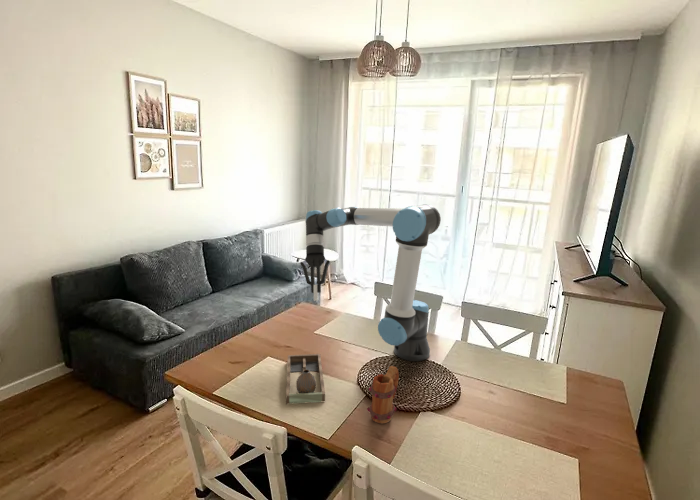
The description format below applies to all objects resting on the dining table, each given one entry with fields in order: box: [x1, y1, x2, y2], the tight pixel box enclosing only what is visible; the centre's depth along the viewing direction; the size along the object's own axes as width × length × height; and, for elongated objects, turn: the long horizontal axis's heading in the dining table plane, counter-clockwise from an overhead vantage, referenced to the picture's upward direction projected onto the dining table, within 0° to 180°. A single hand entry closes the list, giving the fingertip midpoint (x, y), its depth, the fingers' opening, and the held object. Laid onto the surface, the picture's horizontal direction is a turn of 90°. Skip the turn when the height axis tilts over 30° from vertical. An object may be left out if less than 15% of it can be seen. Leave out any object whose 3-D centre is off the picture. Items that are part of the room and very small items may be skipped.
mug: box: [366, 365, 400, 424], centre depth 127 cm, size 15×8×15 cm, turn 148°
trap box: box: [285, 353, 326, 405], centre depth 147 cm, size 28×13×3 cm, turn 8°
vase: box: [295, 370, 317, 394], centre depth 138 cm, size 7×7×9 cm
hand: (316, 300), depth 165 cm, fingers closed
